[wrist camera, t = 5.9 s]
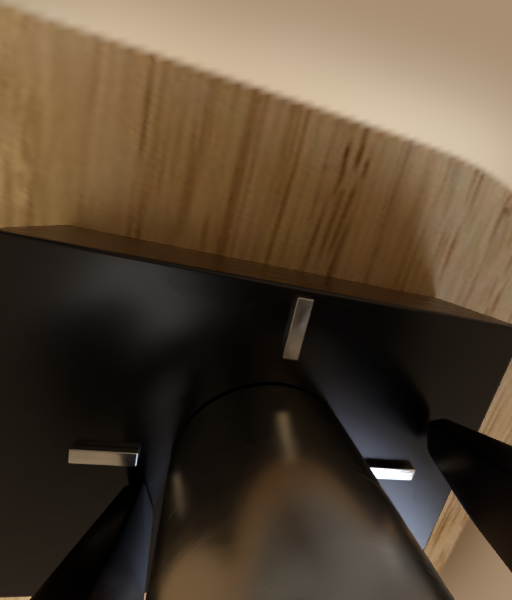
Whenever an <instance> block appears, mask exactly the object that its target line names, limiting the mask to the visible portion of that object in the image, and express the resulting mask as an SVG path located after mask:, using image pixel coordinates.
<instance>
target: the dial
mask: <svg viewBox="0 0 512 600" xmlns="http://www.w3.org/2000/svg"><path fill="white" fill-rule="evenodd" d="M146 600H454V598H453V596H452V595H451V593H450V592H449V590H448V589H447V587H446V586H445V584H444V582H443V581H442V579H441V578H440V576H439V575H438V573H437V571H436V570H435V568H434V567H433V565H432V564H431V562H430V561H429V559H428V557H427V556H426V554H425V553H424V551H423V550H422V548H421V547H420V545H419V543H418V542H417V540H416V539H415V537H414V536H413V534H412V532H411V531H410V529H409V528H408V526H407V525H406V523H405V522H404V520H403V518H402V517H401V515H400V514H399V512H398V511H397V509H396V508H395V506H394V504H393V503H392V501H391V500H390V498H389V497H388V495H387V494H386V492H385V490H384V489H383V487H382V486H381V484H380V483H379V481H378V479H377V478H376V476H375V475H374V473H373V472H372V470H371V469H370V467H369V465H368V464H367V462H366V461H365V459H364V458H363V456H362V455H361V453H360V451H359V450H358V448H357V447H356V445H355V444H354V442H353V441H352V439H351V437H350V436H349V434H348V433H347V431H346V430H345V428H344V426H343V425H342V423H341V422H340V420H339V419H338V417H337V416H336V415H335V413H334V412H333V411H332V409H331V408H329V407H328V406H327V405H326V404H325V403H324V402H323V401H321V400H320V399H318V398H317V397H315V396H313V395H311V394H309V393H307V392H305V391H302V390H299V389H295V388H291V387H286V386H275V385H266V386H255V387H249V388H244V389H241V390H238V391H235V392H232V393H229V394H227V395H225V396H222V397H220V398H219V399H217V400H215V401H213V402H212V403H210V404H209V405H207V406H206V407H204V408H203V409H202V410H200V411H199V412H198V413H197V414H196V415H195V416H194V417H193V418H192V419H191V420H190V421H189V422H188V424H187V425H186V426H185V427H184V428H183V430H182V431H181V433H180V435H179V436H178V438H177V440H176V442H175V444H174V447H173V449H172V452H171V456H170V460H169V466H168V472H167V478H166V483H165V489H164V495H163V501H162V507H161V513H160V519H159V524H158V530H157V536H156V542H155V548H154V554H153V560H152V565H151V571H150V577H149V583H148V589H147V595H146Z"/></svg>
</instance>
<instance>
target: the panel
mask: <svg viewBox="0 0 512 600" xmlns="http://www.w3.org/2000/svg"><path fill="white" fill-rule="evenodd" d="M511 359H512V324H510V323H507V322H504V321H501V320H498V319H495V318H493V317H490V316H487V315H484V314H481V313H478V312H475V311H472V310H470V309H467V308H464V307H461V306H458V305H455V304H452V303H449V302H447V301H444V300H441V299H438V298H433V297H428V296H423V295H418V294H413V293H408V292H402V291H397V290H392V289H387V288H382V287H377V286H372V285H367V284H362V283H357V282H352V281H347V280H342V279H337V278H332V277H327V276H322V275H317V274H311V273H306V272H301V271H296V270H291V269H286V268H281V267H276V266H271V265H266V264H261V263H256V262H251V261H246V260H241V259H236V258H231V257H226V256H221V255H215V254H210V253H205V252H200V251H195V250H190V249H185V248H180V247H175V246H170V245H165V244H160V243H155V242H150V241H145V240H140V239H135V238H130V237H124V236H119V235H114V234H109V233H104V232H99V231H94V230H89V229H84V228H79V227H74V226H69V225H53V226H27V227H2V228H0V597H29V596H33V595H34V594H35V593H36V592H37V590H38V589H39V588H40V587H41V586H42V584H43V583H44V582H45V581H46V580H47V578H48V577H49V576H50V575H51V574H52V572H53V571H54V570H55V569H56V568H57V566H58V565H59V564H60V563H61V562H62V560H63V559H64V558H65V557H66V556H67V555H68V553H69V552H70V551H71V550H72V549H73V547H74V546H75V545H76V544H77V543H78V541H79V540H80V539H81V538H82V537H83V535H84V534H85V533H86V532H87V531H88V529H89V528H90V527H91V526H92V525H93V523H94V522H95V521H96V520H97V519H98V517H99V516H100V515H101V514H102V513H103V511H104V510H105V509H106V508H107V507H108V505H109V504H110V503H111V502H112V501H113V500H114V498H115V497H116V496H117V495H118V494H119V492H120V491H121V490H122V489H123V488H124V487H125V486H126V485H129V484H134V483H139V482H143V483H144V484H145V486H146V489H147V492H148V495H149V499H150V502H151V505H152V510H153V520H152V529H151V539H150V548H149V557H148V566H147V575H146V584H145V592H144V593H147V589H148V583H149V577H150V571H151V565H152V560H153V554H154V548H155V542H156V536H157V530H158V524H159V519H160V513H161V507H162V501H163V495H164V489H165V483H166V478H167V472H168V466H169V460H170V456H171V452H172V449H173V447H174V444H175V442H176V440H177V438H178V436H179V435H180V433H181V431H182V430H183V428H184V427H185V426H186V425H187V424H188V422H189V421H190V420H191V419H192V418H193V417H194V416H195V415H196V414H197V413H198V412H199V411H200V410H202V409H203V408H204V407H206V406H207V405H209V404H210V403H212V402H213V401H215V400H217V399H219V398H220V397H222V396H225V395H227V394H229V393H232V392H235V391H238V390H241V389H244V388H249V387H255V386H266V385H275V386H286V387H291V388H295V389H299V390H302V391H305V392H307V393H309V394H311V395H313V396H315V397H317V398H318V399H320V400H321V401H323V402H324V403H325V404H326V405H327V406H328V407H329V408H331V409H332V411H333V412H334V413H335V415H336V416H337V417H338V419H339V420H340V422H341V423H342V425H343V426H344V428H345V430H346V431H347V433H348V434H349V436H350V437H351V439H352V441H353V442H354V444H355V445H356V447H357V448H358V450H359V451H360V453H361V455H362V456H363V458H364V459H365V461H366V462H367V464H368V465H369V467H370V469H371V470H372V472H373V473H374V475H375V476H376V478H377V479H378V481H379V483H380V484H381V486H382V487H383V489H384V490H385V492H386V494H387V495H388V497H389V498H390V500H391V501H392V503H393V504H394V506H395V508H396V509H397V511H398V512H399V514H400V515H401V517H402V518H403V520H404V522H405V523H406V525H407V526H408V528H409V529H410V531H411V532H412V534H413V536H414V537H415V539H416V540H417V542H418V543H419V545H420V547H421V548H422V550H424V548H425V546H426V544H427V542H428V539H429V537H430V535H431V533H432V531H433V529H434V526H435V524H436V522H437V520H438V518H439V516H440V513H441V511H442V509H443V507H444V505H445V502H446V500H447V498H448V496H449V494H450V492H451V488H450V486H449V485H448V483H447V482H446V480H445V479H444V477H443V476H442V474H441V472H440V471H439V469H438V468H437V466H436V465H435V463H434V462H433V460H432V459H431V457H430V455H429V453H428V449H427V427H428V423H429V422H430V421H432V420H437V419H442V418H445V419H448V420H451V421H453V422H455V423H458V424H460V425H463V426H465V427H467V428H470V429H472V430H475V431H477V432H478V431H479V428H480V426H481V424H482V422H483V420H484V418H485V415H486V413H487V411H488V409H489V407H490V404H491V402H492V400H493V398H494V396H495V394H496V391H497V389H498V387H499V385H500V383H501V381H502V378H503V376H504V374H505V372H506V370H507V367H508V365H509V363H510V361H511Z"/></svg>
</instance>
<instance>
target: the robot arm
mask: <svg viewBox="0 0 512 600" xmlns="http://www.w3.org/2000/svg"><path fill="white" fill-rule="evenodd" d="M427 449H428V453H429V455H430V457H431V459H432V460H433V462H434V463H435V465H436V466H437V468H438V469H439V471H440V472H441V474H442V476H443V477H444V479H445V480H446V482H447V483H448V485H449V486H450V488H451V489H452V491H453V493H454V494H455V496H456V497H457V499H458V500H459V502H460V503H461V505H462V506H463V508H464V509H465V511H466V512H467V514H468V515H469V517H470V518H471V520H472V521H473V522H474V524H475V525H476V526H477V528H478V529H479V531H480V532H481V533H482V534H483V536H484V537H485V538H486V540H487V541H488V542H489V544H490V545H491V546H492V547H493V549H494V550H495V551H496V553H497V554H498V555H499V557H500V558H501V559H502V560H503V562H504V563H505V564H506V566H507V567H508V568H509V570H510V571H511V572H512V446H511V445H508V444H506V443H503V442H501V441H499V440H496V439H494V438H491V437H489V436H487V435H484V434H482V433H479V432H477V431H475V430H472V429H470V428H467V427H465V426H463V425H460V424H458V423H455V422H453V421H451V420H448V419H445V418H442V419H437V420H432V421H430V422H429V423H428V427H427ZM152 520H153V510H152V505H151V502H150V499H149V495H148V492H147V489H146V486H145V484H144V483H143V482H139V483H134V484H129V485H126V486H125V487H124V488H123V489H122V490H121V491H120V492H119V494H118V495H117V496H116V497H115V498H114V500H113V501H112V502H111V503H110V504H109V505H108V507H107V508H106V509H105V510H104V511H103V513H102V514H101V515H100V516H99V517H98V519H97V520H96V521H95V522H94V523H93V525H92V526H91V527H90V528H89V529H88V531H87V532H86V533H85V534H84V535H83V537H82V538H81V539H80V540H79V541H78V543H77V544H76V545H75V546H74V547H73V549H72V550H71V551H70V552H69V553H68V555H67V556H66V557H65V558H64V559H63V560H62V562H61V563H60V564H59V565H58V566H57V568H56V569H55V570H54V571H53V572H52V574H51V575H50V576H49V577H48V578H47V580H46V581H45V582H44V583H43V584H42V586H41V587H40V588H39V589H38V590H37V592H36V593H35V594H34V595H33V596H32V598H31V599H30V600H144V592H145V584H146V575H147V566H148V557H149V548H150V539H151V529H152Z"/></svg>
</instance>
